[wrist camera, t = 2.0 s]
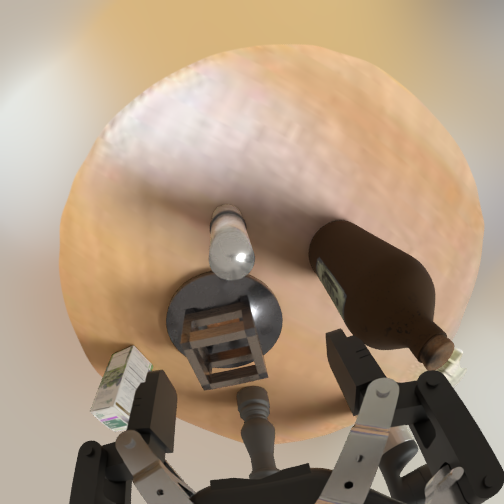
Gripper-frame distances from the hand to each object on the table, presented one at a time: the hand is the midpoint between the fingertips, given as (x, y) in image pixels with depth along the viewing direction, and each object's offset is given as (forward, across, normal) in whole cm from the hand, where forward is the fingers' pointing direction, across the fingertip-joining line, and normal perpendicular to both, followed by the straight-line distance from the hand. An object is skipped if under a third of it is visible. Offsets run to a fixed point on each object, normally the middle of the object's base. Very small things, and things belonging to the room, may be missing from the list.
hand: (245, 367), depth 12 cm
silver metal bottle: (+27, 0, 0) cm, 27 cm away
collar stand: (+27, +4, +16) cm, 32 cm away
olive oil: (+27, -15, +8) cm, 32 cm away
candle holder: (+27, +4, +36) cm, 45 cm away
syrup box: (+27, +23, +20) cm, 41 cm away
